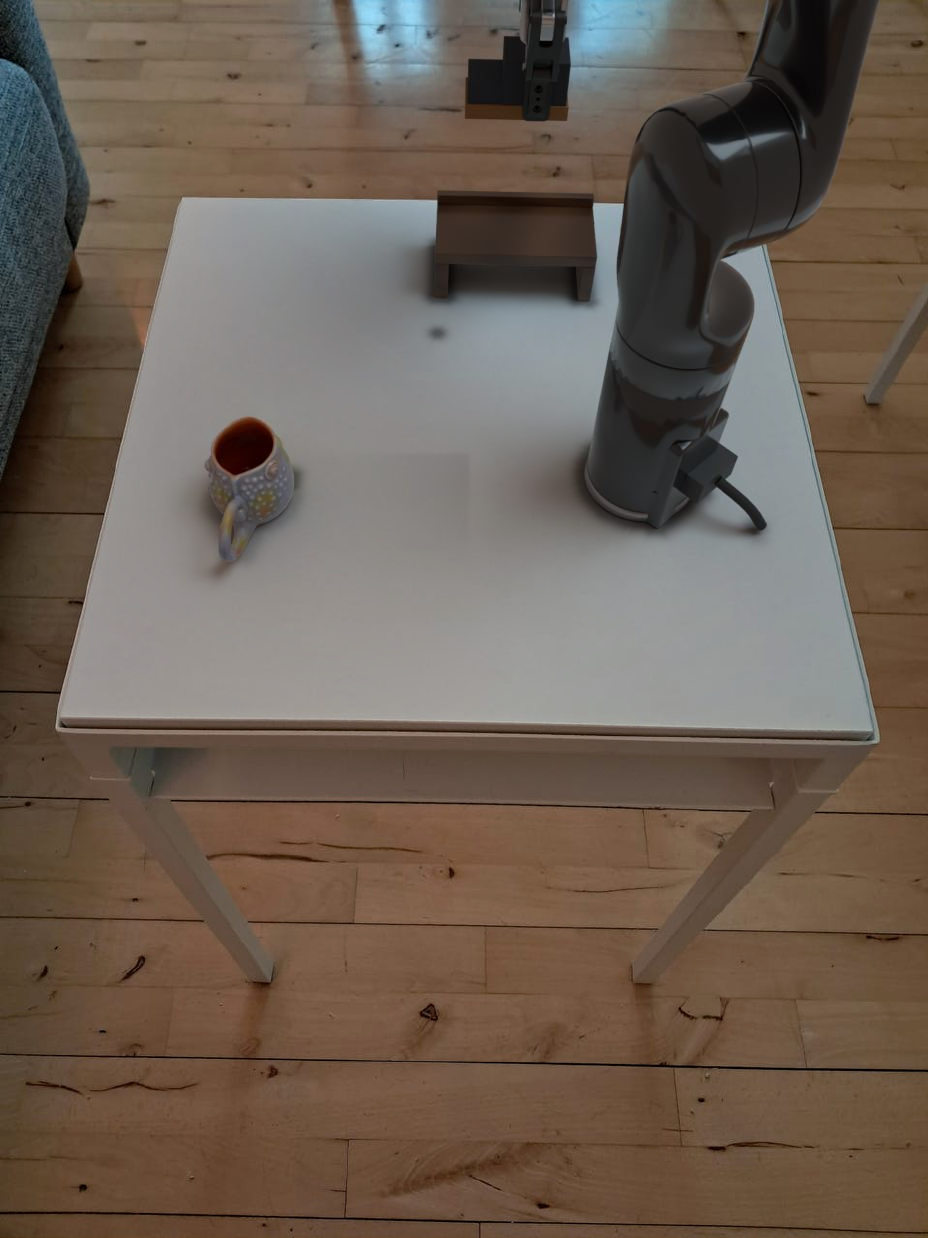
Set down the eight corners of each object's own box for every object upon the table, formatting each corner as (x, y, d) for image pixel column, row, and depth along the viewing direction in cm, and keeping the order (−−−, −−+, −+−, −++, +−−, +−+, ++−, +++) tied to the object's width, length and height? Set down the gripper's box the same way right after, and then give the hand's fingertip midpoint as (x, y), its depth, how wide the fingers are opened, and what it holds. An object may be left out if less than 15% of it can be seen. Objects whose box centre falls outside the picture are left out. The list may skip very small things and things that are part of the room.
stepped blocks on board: (564, 92, 79) (571, 36, 75) (567, 121, 77) (573, 64, 73) (465, 90, 79) (466, 33, 75) (464, 119, 77) (465, 61, 73)
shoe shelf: (586, 247, 96) (594, 192, 91) (590, 300, 92) (598, 247, 87) (437, 244, 96) (437, 189, 91) (435, 297, 92) (434, 244, 87)
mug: (229, 459, 82) (212, 405, 76) (306, 470, 81) (295, 417, 75) (186, 573, 76) (164, 524, 70) (268, 586, 75) (254, 537, 69)
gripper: (618, -97, 59) (584, 155, 74) (604, -194, 66) (575, 54, 81) (500, -100, 59) (489, 153, 74) (498, -196, 66) (488, 52, 81)
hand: (534, 100), depth 78 cm, fingers closed on stepped blocks on board, 4 cm apart
